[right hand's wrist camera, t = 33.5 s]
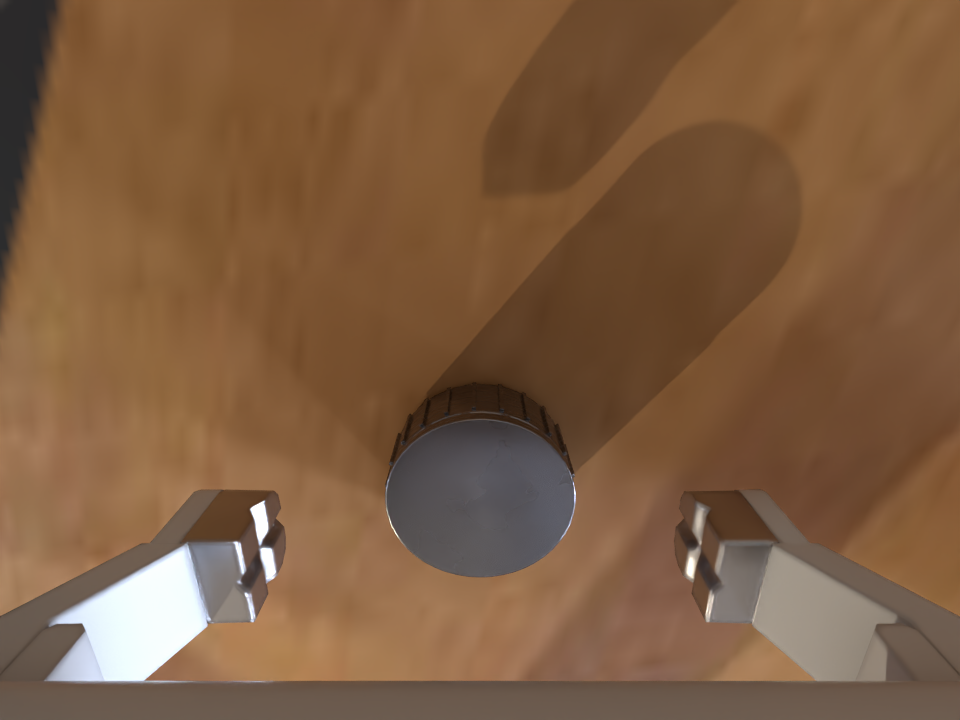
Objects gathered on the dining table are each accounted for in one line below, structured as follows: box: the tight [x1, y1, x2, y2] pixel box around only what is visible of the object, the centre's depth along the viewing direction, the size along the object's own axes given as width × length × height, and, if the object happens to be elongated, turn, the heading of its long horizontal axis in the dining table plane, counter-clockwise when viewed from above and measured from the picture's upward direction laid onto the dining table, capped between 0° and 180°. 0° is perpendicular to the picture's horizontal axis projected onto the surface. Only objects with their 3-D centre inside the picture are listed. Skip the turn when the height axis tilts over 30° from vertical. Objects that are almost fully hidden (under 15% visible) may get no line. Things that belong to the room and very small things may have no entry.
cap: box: [385, 383, 575, 577], centre depth 12 cm, size 4×4×2 cm
